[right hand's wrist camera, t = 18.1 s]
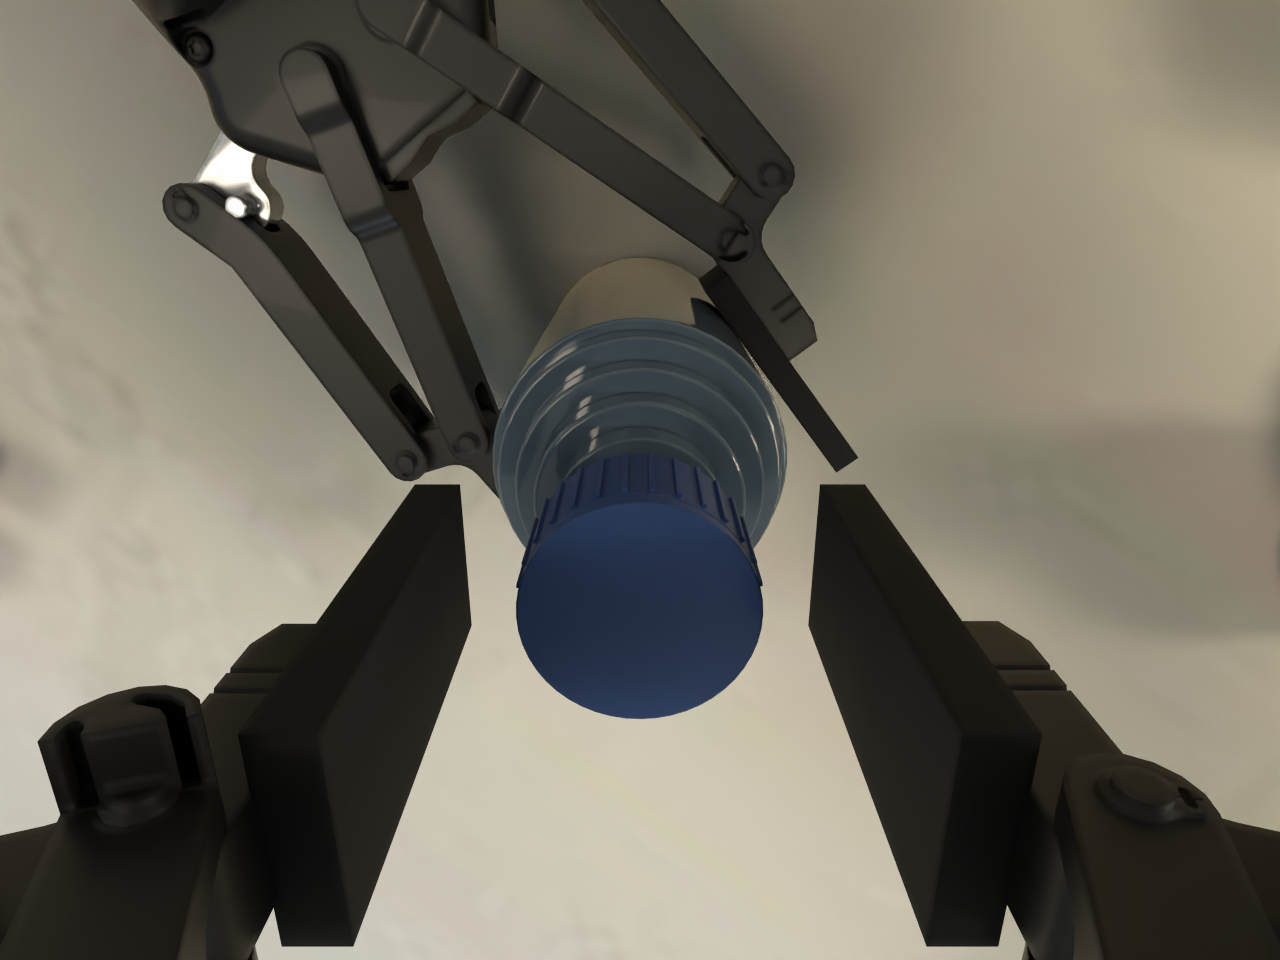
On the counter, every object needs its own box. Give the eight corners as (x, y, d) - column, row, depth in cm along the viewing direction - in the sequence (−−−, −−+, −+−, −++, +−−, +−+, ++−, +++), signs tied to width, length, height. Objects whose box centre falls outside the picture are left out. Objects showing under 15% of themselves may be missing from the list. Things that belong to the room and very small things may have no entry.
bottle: (518, 302, 30) (344, 497, 12) (688, 226, 29) (765, 317, 11) (595, 461, 32) (540, 821, 14) (755, 395, 31) (908, 693, 13)
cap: (660, 682, 15) (663, 762, 13) (487, 572, 15) (463, 639, 12) (793, 533, 14) (820, 594, 12) (615, 404, 13) (611, 447, 11)
